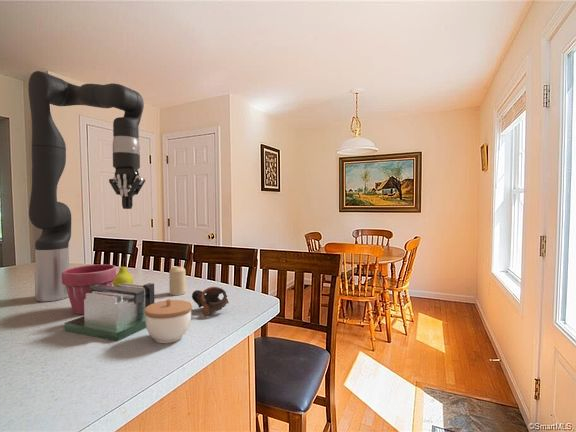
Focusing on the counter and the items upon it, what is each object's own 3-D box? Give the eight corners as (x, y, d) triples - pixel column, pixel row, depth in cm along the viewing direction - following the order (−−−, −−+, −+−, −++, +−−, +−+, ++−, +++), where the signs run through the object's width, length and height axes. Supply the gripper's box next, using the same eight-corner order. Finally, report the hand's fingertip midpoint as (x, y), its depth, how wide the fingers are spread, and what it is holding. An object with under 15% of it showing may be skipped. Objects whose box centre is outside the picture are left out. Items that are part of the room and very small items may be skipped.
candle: (188, 291, 118) (187, 264, 117) (181, 295, 112) (181, 267, 112) (173, 291, 118) (173, 264, 118) (166, 295, 113) (166, 267, 113)
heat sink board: (64, 330, 81) (63, 288, 81) (117, 311, 96) (117, 275, 96) (117, 341, 75) (116, 295, 74) (165, 318, 90) (165, 280, 89)
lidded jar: (164, 351, 70) (163, 309, 69) (135, 340, 75) (134, 301, 75) (201, 335, 79) (201, 297, 78) (173, 326, 84) (172, 291, 84)
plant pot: (50, 314, 93) (49, 271, 93) (94, 300, 106) (93, 262, 106) (85, 320, 88) (84, 274, 88) (127, 305, 102) (126, 265, 101)
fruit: (127, 293, 116) (126, 260, 115) (108, 292, 116) (108, 260, 116) (136, 288, 123) (136, 257, 122) (119, 287, 123) (118, 257, 122)
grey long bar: (90, 296, 87) (89, 285, 87) (98, 294, 89) (98, 283, 89) (136, 303, 81) (136, 292, 81) (144, 300, 84) (143, 289, 84)
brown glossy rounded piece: (232, 307, 102) (234, 288, 98) (219, 330, 94) (220, 310, 90) (197, 296, 103) (198, 277, 99) (182, 317, 95) (182, 298, 91)
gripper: (152, 153, 99) (153, 208, 100) (120, 155, 104) (121, 208, 105) (133, 149, 92) (133, 209, 93) (99, 152, 97) (100, 208, 98)
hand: (127, 208), depth 99 cm, fingers closed
